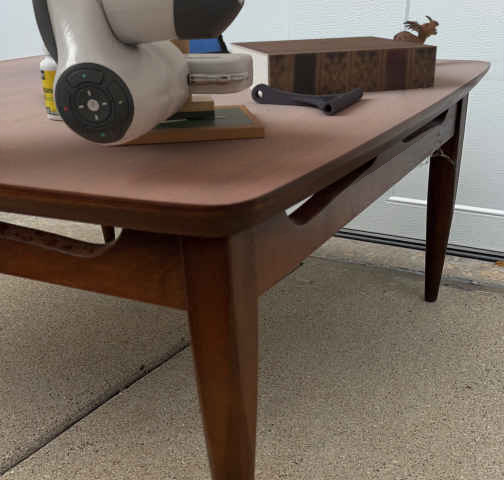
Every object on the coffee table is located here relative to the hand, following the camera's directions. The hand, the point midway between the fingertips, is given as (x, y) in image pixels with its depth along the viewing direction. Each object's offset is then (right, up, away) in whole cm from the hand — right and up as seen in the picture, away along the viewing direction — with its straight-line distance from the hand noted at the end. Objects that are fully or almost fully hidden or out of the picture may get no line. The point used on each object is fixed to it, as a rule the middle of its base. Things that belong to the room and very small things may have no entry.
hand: (179, 65), depth 85 cm
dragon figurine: (+40, +18, +55) cm, 71 cm away
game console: (-1, +22, +65) cm, 69 cm away
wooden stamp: (0, -6, +2) cm, 6 cm away
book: (+22, +8, +35) cm, 42 cm away
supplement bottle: (-16, -4, +10) cm, 19 cm away
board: (0, -8, +1) cm, 8 cm away
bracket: (+16, -1, +15) cm, 22 cm away
